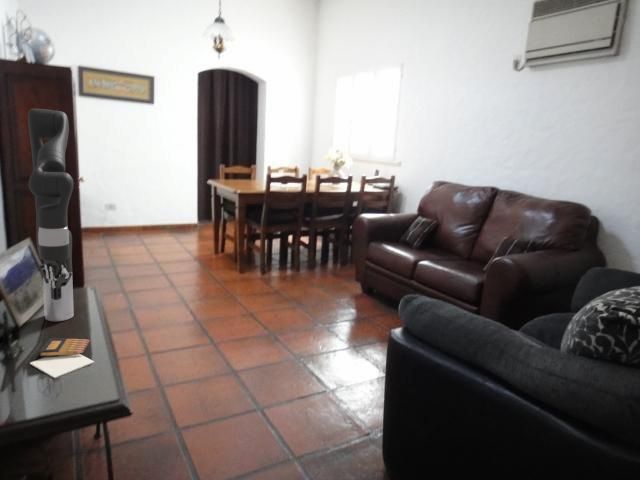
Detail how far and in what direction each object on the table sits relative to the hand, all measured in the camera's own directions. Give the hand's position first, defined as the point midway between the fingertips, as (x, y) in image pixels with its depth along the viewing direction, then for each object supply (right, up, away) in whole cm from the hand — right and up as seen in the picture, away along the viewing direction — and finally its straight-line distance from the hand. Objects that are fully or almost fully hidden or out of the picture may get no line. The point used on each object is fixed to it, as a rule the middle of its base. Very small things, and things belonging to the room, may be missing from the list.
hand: (56, 298), depth 130 cm
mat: (0, -20, +3) cm, 20 cm away
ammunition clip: (-9, -17, +9) cm, 21 cm away
